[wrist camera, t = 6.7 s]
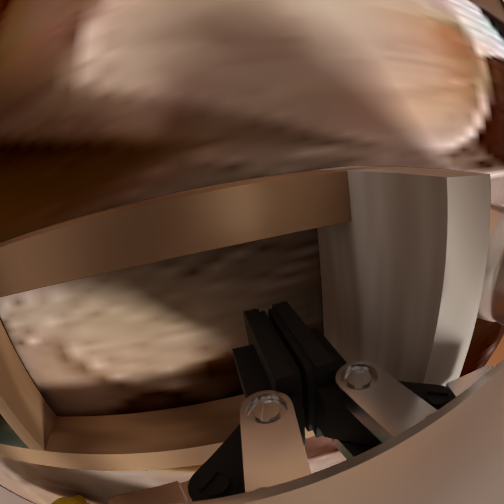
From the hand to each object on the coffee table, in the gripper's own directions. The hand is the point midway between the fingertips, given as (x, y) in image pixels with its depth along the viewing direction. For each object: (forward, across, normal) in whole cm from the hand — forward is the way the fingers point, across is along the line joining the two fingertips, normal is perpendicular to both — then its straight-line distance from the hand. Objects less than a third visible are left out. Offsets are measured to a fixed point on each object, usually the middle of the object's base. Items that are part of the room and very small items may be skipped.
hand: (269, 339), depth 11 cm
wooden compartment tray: (+2, +11, 0) cm, 11 cm away
